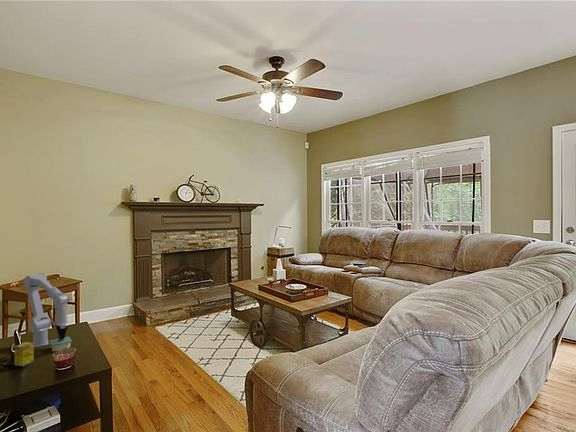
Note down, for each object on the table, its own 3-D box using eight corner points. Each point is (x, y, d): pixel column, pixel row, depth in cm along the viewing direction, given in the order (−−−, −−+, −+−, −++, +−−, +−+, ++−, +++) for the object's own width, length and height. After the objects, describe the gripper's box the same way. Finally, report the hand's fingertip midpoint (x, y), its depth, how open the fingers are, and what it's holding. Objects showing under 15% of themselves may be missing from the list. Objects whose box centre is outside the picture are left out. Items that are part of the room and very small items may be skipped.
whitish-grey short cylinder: (51, 347, 195) (51, 341, 195) (69, 344, 201) (69, 337, 201) (52, 352, 188) (52, 346, 188) (70, 349, 194) (70, 342, 194)
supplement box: (23, 367, 170) (23, 347, 170) (14, 366, 171) (14, 346, 171) (34, 362, 176) (34, 342, 176) (25, 361, 177) (25, 341, 177)
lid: (49, 341, 195) (49, 333, 195) (69, 337, 201) (69, 329, 201) (51, 346, 187) (51, 338, 187) (72, 342, 194) (72, 334, 194)
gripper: (51, 313, 197) (51, 335, 197) (54, 319, 186) (54, 342, 186) (65, 311, 202) (65, 332, 202) (69, 316, 191) (69, 339, 191)
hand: (61, 337), depth 194 cm, fingers open, 7 cm apart
